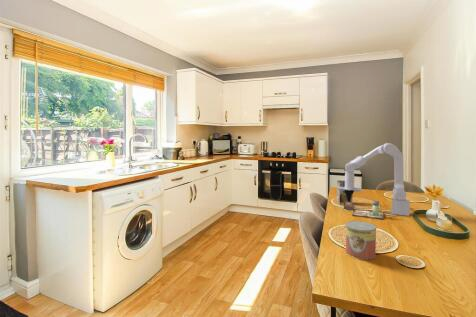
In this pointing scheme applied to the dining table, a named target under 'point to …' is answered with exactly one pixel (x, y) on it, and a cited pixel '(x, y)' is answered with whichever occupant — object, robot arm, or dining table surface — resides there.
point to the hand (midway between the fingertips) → (349, 201)
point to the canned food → (361, 239)
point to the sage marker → (376, 208)
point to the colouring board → (367, 214)
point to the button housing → (349, 207)
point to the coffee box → (342, 193)
